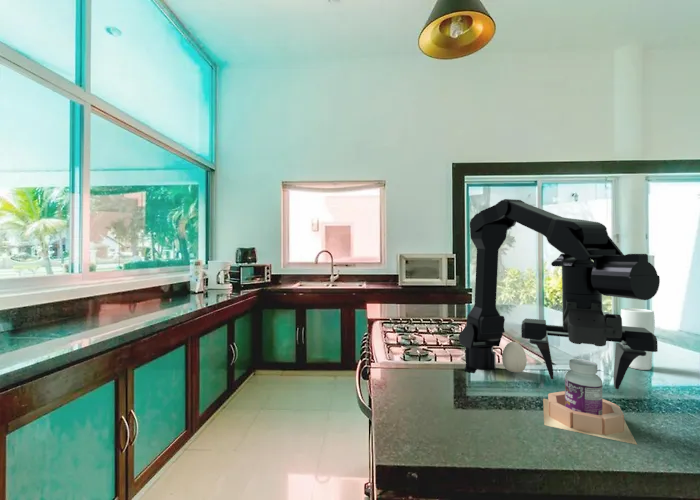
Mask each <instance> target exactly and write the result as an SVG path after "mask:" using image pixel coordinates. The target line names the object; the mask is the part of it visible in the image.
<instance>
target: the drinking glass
mask: <svg viewBox="0 0 700 500" xmlns="http://www.w3.org/2000/svg"><path fill="white" fill-rule="evenodd" d="M620 316H621V318H622V326H628V327H641V328H645V329H647V330H648V331H650V332H651V333H652V334H654V335H655V328H656V327H655V326H656V325H655V324H656V323H655V311H654V310H650V309H644V308H632V307H631V308H630V307H623V308H621V309H620ZM645 352H646V356H638V357H636V358H635V359H634V360H633V361H632V363H631V364H630V366H629V367H628V368H631V369H635V370H639V371H641V370H642V371H649V370H652V368H653V363H652V361H653V360H652V359H653V352H649V351H645Z"/></svg>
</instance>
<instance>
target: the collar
mask: <svg viewBox="0 0 700 500" xmlns="http://www.w3.org/2000/svg"><path fill="white" fill-rule="evenodd" d="M547 395H548V397H547V399H548V408H549V416H550V417H551V418H553V419H555V420H557V421H558V422H560V423H562V424H564V425H566V426H568V427H569V428H572V427H573V429H576V430H581V431H586V432H590V433H595V434H600V435H602V434H604V435H609V434H614V433H619V432H623V431H624V420H625V414H624V412H623V411H622V409H621V407H620V405H618V404H616V403H613V402H611V401H610V400H607V399H604V398H602V405H603V406H602V415H594V414H589V413H583V412H578V411H574V410H571V409H569V408H567V407H565V390H562V391H556V392H549V393H548V394H547Z"/></svg>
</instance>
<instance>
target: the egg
mask: <svg viewBox="0 0 700 500" xmlns="http://www.w3.org/2000/svg"><path fill="white" fill-rule="evenodd" d="M526 354H527V353H526V351H525V349H524V348H523V346H522V345H521V344H520V343H519V342H516V341H510V342H508V343H507V344H506V345H505V346H504V348H503V351H502V355H501V361H502V365H503V367H504V368H505V370H506V371H508V372H511V373H523V372H524V371H525V369H526V367H527V361H528V360H527V355H526Z"/></svg>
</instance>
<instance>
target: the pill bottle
mask: <svg viewBox="0 0 700 500" xmlns="http://www.w3.org/2000/svg"><path fill="white" fill-rule="evenodd" d="M569 369H570V370H568V371H566V373H564V374H565V375H564V391H565V407H567V408H569V409H571V410H574V411H578V412H583V413H589V414H594V415H602V406H603V405H602V399H603V380H602V378H601V377H600V376H599V375H597V373H598V364H597V363H596V362H594V361H591V360H587V359H582V358H573V359H569Z"/></svg>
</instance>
